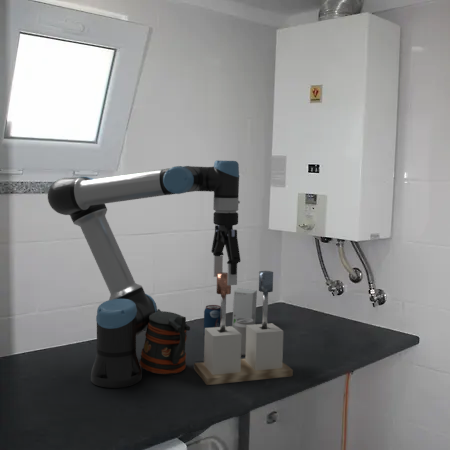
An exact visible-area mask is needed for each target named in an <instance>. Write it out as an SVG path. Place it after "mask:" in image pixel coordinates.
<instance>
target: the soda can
mask: <svg viewBox="0 0 450 450" xmlns="http://www.w3.org/2000/svg"><path fill="white" fill-rule="evenodd" d="M220 319H221V305H218V304H209V305H208V304H207V305H206V306H205V308H204V311H203V336H204V337H205V328H213V327H220Z"/></svg>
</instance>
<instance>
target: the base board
mask: <svg viewBox="0 0 450 450" xmlns="http://www.w3.org/2000/svg"><path fill="white" fill-rule="evenodd" d="M193 366H194V367H193V369H194V371H195V372H196V373H197V374H198V376H199V377H200V378H201V380H202V381H203V382H204V384H205V385H206V386H210V385H211V386H212V385H222V384H229V383H238V382H239V383H240V382H249V381H259V380H267V379H269V380H270V379H278V378H279V379H280V378H287V377H293V374H294V373H293V372H294V370H293V369H292V367H290V366H289V365H287V364H286V363H284V362H283V361H282V368H277V369H267V370H257V371H256V370H254V369H253V368H252V367H251V366H250V365H249V364H248V363H247V362H246V361H245V358H241V372H236V373H226V374H216V375H212V374H211V372H210V371H209V370H208V369H207V368H206V367H205V366H204V361H202V362H194V364H193Z"/></svg>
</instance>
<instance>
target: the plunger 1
mask: <svg viewBox="0 0 450 450" xmlns="http://www.w3.org/2000/svg"><path fill="white" fill-rule="evenodd" d="M227 283H228V272H223V271H222V273H217V277H216V294H217V295H220V306H221V319H220V333H223V332H225V327H227V326H226V321H227V320H226V317H227V295H231V294H232V285H227Z"/></svg>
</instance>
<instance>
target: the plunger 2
mask: <svg viewBox="0 0 450 450" xmlns="http://www.w3.org/2000/svg"><path fill="white" fill-rule="evenodd" d="M258 273H259V275H258V292H261V293H262V314H261V315H262V316H261V317H262V319H261V320H262V321H261V324H262V329H267V324H268V312H269V307H268V306H269V293H272V292H273V291H274V271H272V270H261V271H259V272H258Z"/></svg>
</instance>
